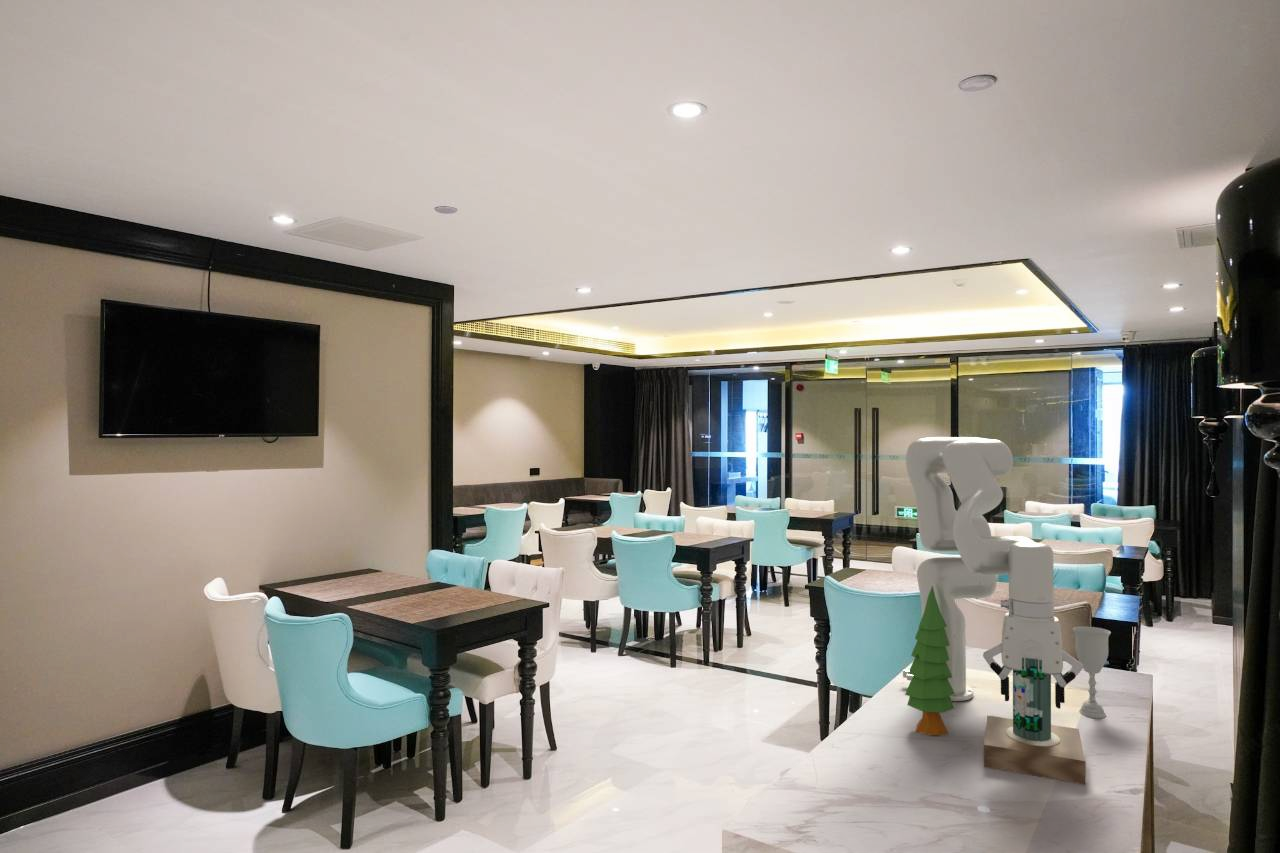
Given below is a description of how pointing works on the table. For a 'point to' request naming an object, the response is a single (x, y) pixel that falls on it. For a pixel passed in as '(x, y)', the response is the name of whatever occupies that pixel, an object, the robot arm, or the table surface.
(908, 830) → the table surface
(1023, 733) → the can
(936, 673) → the decorative tree
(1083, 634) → the chalice
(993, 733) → the walnut base
